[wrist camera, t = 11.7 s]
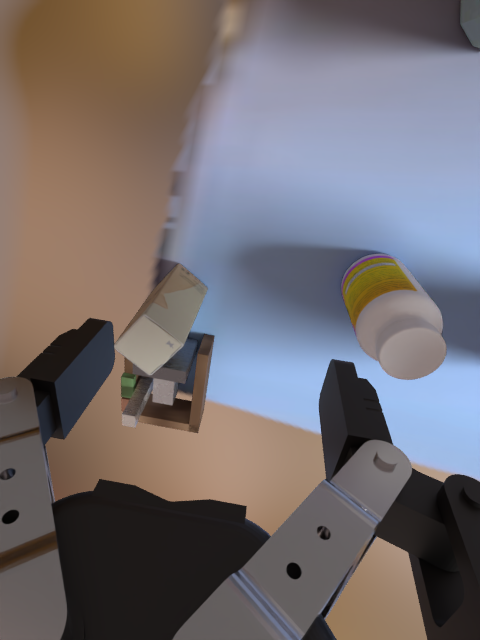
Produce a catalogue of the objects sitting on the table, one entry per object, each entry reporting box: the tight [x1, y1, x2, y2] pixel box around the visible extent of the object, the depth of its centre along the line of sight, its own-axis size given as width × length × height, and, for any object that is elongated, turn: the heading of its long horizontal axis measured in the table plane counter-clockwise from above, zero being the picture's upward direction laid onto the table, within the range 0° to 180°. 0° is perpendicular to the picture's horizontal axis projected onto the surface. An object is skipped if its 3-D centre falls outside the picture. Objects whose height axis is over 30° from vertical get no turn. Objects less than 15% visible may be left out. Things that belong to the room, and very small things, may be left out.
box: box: [114, 264, 208, 375], centre depth 35 cm, size 5×4×11 cm
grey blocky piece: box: [122, 338, 198, 427], centre depth 41 cm, size 6×7×8 cm
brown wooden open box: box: [121, 334, 214, 433], centre depth 44 cm, size 9×12×5 cm
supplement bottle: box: [341, 254, 447, 380], centre depth 32 cm, size 7×7×13 cm
